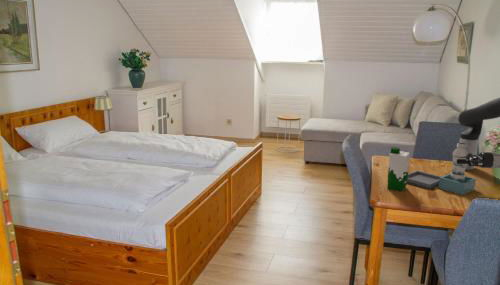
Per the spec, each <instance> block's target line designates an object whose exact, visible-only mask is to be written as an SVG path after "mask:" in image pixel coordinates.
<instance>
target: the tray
mask: <svg viewBox="0 0 500 285" xmlns="http://www.w3.org/2000/svg"><path fill="white" fill-rule="evenodd" d="M440 177H442V175H441V176H440V175H436V174H433V173H429V172H425V171H422V170H417V169H416V170H414V171H411V172H408V179H407V184H410V185H413V186H417V187H419V188H422V189H423V188H424V189H427V190H431V189H434V188H436V187H439V179H440Z"/></svg>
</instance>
